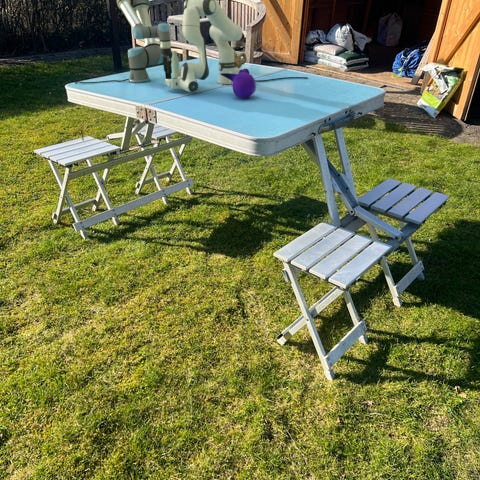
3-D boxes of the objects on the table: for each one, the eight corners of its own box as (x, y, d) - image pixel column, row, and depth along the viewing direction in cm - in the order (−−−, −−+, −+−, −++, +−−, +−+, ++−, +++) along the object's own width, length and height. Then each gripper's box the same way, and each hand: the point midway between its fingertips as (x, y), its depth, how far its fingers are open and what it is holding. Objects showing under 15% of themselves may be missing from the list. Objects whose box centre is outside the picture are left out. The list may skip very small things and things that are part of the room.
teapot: (227, 72, 362) (226, 52, 355) (220, 70, 371) (219, 51, 363) (249, 69, 371) (249, 50, 364) (242, 67, 380) (242, 48, 372)
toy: (241, 90, 304) (255, 103, 283) (217, 85, 296) (230, 99, 276) (247, 66, 296) (262, 78, 275) (223, 61, 288) (236, 73, 268)
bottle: (181, 89, 312) (178, 51, 300) (174, 89, 312) (170, 51, 299) (181, 87, 316) (178, 50, 304) (174, 88, 316) (170, 50, 304)
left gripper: (157, 46, 321) (160, 80, 332) (164, 49, 307) (167, 85, 319) (167, 46, 323) (170, 79, 335) (174, 48, 310) (177, 83, 321)
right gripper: (197, 75, 304) (189, 72, 314) (169, 79, 295) (162, 76, 306) (198, 85, 307) (190, 82, 317) (170, 89, 298) (163, 85, 309)
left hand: (168, 82), depth 327 cm, fingers closed on cap, 4 cm apart
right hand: (176, 79), depth 311 cm, fingers closed on bottle, 5 cm apart
